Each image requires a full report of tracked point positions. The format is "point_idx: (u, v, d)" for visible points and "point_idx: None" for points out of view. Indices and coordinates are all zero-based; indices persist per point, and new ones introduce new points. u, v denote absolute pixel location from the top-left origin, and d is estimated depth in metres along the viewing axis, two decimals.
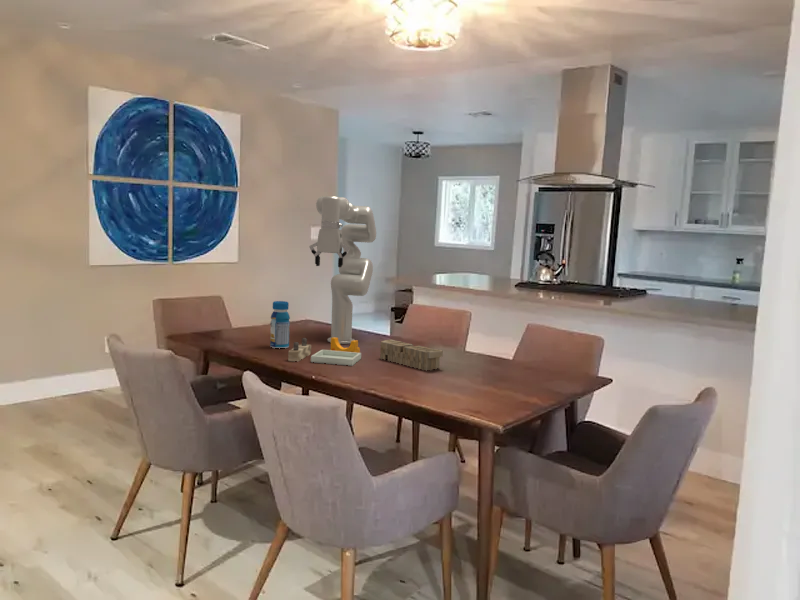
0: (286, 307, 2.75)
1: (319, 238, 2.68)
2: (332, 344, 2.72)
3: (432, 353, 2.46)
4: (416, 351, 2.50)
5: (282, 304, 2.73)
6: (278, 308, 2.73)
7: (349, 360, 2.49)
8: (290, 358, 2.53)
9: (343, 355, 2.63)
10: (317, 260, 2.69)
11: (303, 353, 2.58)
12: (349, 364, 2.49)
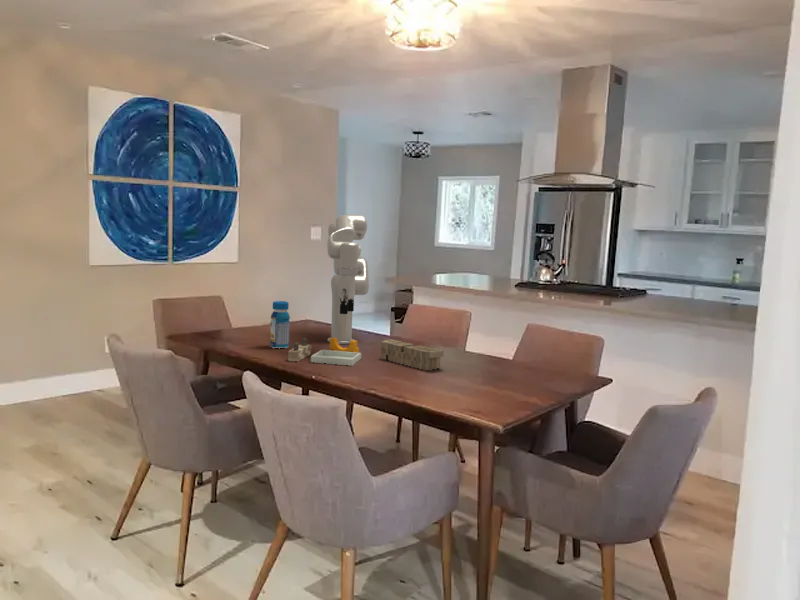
0: (286, 307, 2.75)
1: (350, 286, 2.64)
2: (331, 344, 2.71)
3: (433, 353, 2.46)
4: (417, 351, 2.50)
5: (282, 304, 2.73)
6: (278, 308, 2.73)
7: (349, 360, 2.49)
8: (290, 358, 2.53)
9: (343, 355, 2.63)
10: (347, 308, 2.65)
11: (303, 353, 2.58)
12: (349, 364, 2.49)
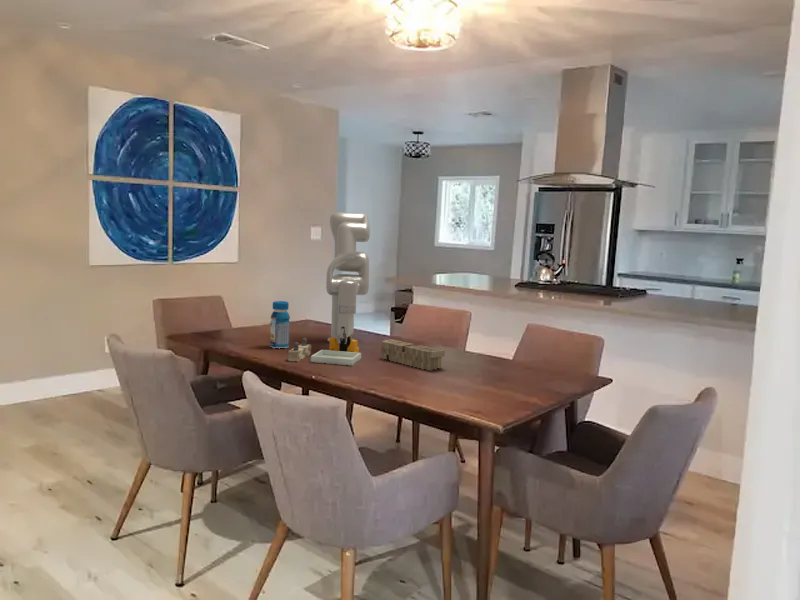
0: (286, 307, 2.75)
1: (349, 323, 2.66)
2: (331, 344, 2.71)
3: (434, 353, 2.47)
4: (418, 351, 2.50)
5: (282, 304, 2.73)
6: (278, 308, 2.73)
7: (349, 360, 2.49)
8: (290, 358, 2.53)
9: (343, 355, 2.63)
10: (346, 347, 2.68)
11: (303, 353, 2.58)
12: (349, 364, 2.49)
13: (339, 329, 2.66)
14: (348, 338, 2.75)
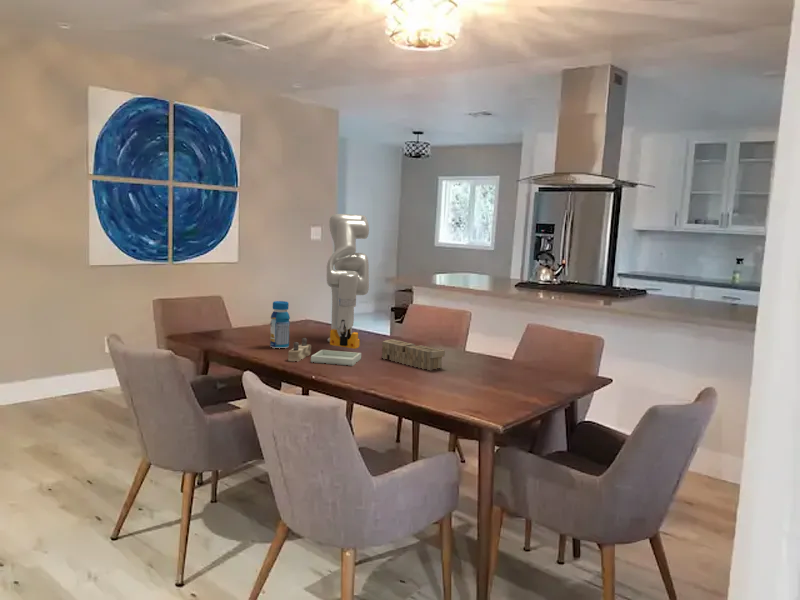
0: (286, 307, 2.75)
1: (349, 316, 2.67)
2: (332, 336, 2.73)
3: (435, 353, 2.47)
4: (418, 351, 2.51)
5: (282, 304, 2.73)
6: (278, 308, 2.73)
7: (349, 360, 2.49)
8: (290, 358, 2.53)
9: (343, 355, 2.63)
10: (347, 340, 2.70)
11: (303, 353, 2.58)
12: (349, 364, 2.49)
13: (339, 322, 2.67)
14: (348, 331, 2.75)
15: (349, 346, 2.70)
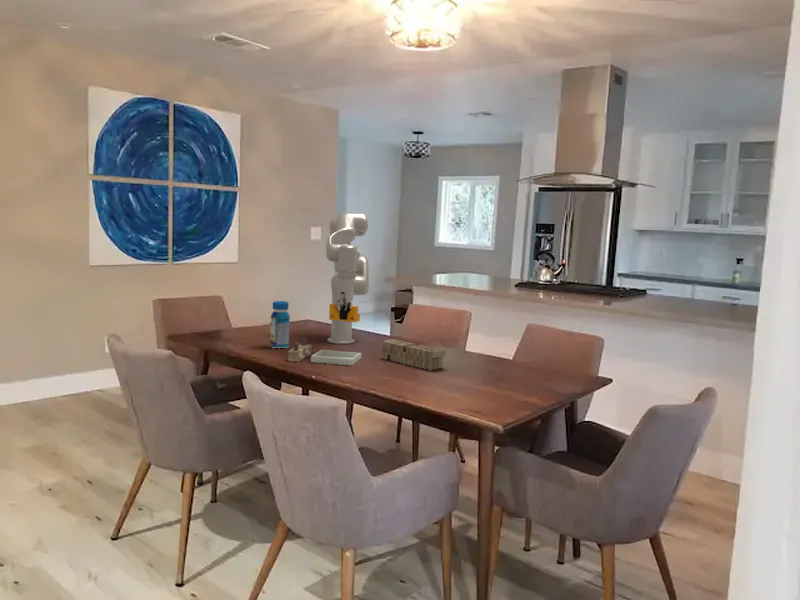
0: (286, 307, 2.75)
1: (348, 289, 2.62)
2: (331, 310, 2.67)
3: (436, 352, 2.47)
4: (419, 350, 2.51)
5: (282, 304, 2.73)
6: (278, 308, 2.73)
7: (349, 360, 2.49)
8: (290, 358, 2.53)
9: (343, 355, 2.63)
10: (347, 313, 2.64)
11: (303, 353, 2.58)
12: (349, 364, 2.49)
13: (339, 294, 2.61)
14: (347, 305, 2.70)
15: (349, 320, 2.64)
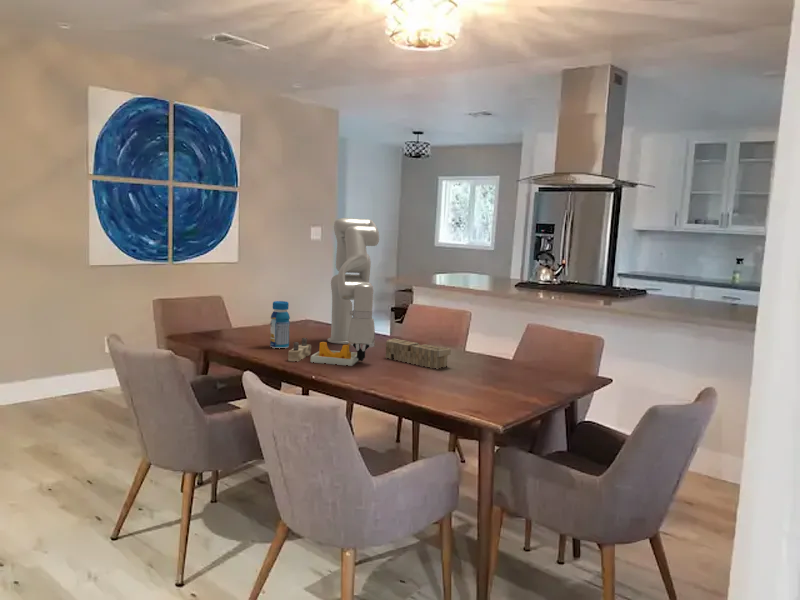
0: (286, 307, 2.75)
1: None
2: (321, 349, 2.56)
3: (441, 351, 2.50)
4: (425, 350, 2.53)
5: (282, 304, 2.73)
6: (278, 308, 2.73)
7: (349, 360, 2.49)
8: (290, 358, 2.53)
9: None
10: None
11: (303, 353, 2.58)
12: (349, 364, 2.49)
13: (373, 336, 2.52)
14: (358, 347, 2.55)
15: None
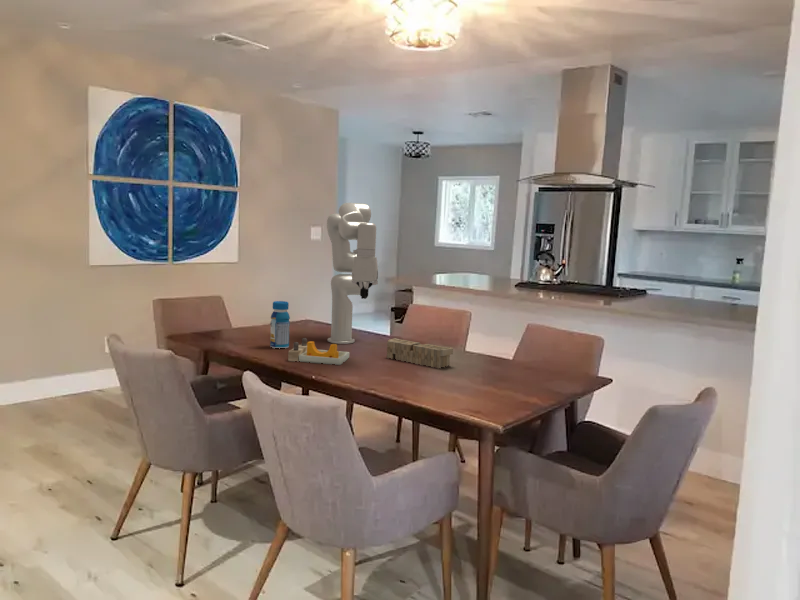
0: (286, 307, 2.75)
1: None
2: (309, 349, 2.56)
3: (445, 351, 2.52)
4: (428, 349, 2.54)
5: (282, 304, 2.73)
6: (278, 308, 2.73)
7: (337, 359, 2.50)
8: (290, 358, 2.53)
9: None
10: None
11: None
12: (337, 363, 2.50)
13: (376, 273, 2.57)
14: None
15: None
